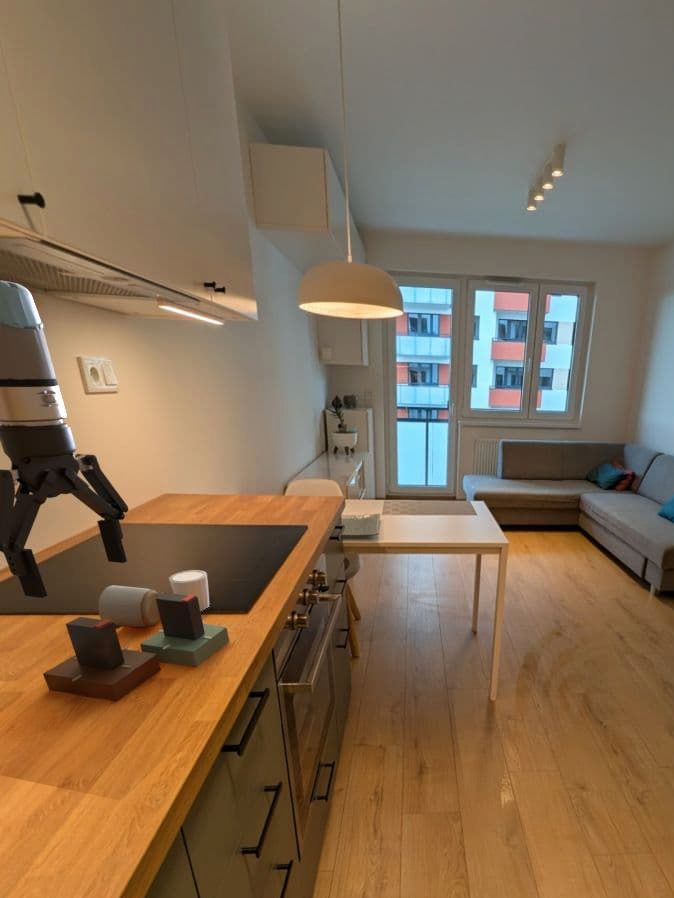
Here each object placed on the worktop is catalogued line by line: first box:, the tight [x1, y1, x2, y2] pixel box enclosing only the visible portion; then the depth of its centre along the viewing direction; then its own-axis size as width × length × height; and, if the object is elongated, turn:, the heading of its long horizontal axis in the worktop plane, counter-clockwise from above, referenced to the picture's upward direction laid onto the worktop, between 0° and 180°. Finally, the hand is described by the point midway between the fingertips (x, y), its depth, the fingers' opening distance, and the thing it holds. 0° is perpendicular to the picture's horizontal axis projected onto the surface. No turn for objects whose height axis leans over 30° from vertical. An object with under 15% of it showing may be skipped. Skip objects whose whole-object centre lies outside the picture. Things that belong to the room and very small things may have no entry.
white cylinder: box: [168, 569, 211, 613], centre depth 102 cm, size 7×7×7 cm
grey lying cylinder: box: [97, 584, 161, 628], centre depth 96 cm, size 11×8×8 cm
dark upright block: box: [156, 592, 205, 640], centre depth 85 cm, size 6×2×7 cm, turn 78°
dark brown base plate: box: [42, 645, 162, 702], centre depth 79 cm, size 12×10×3 cm
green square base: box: [139, 620, 230, 668], centre depth 87 cm, size 10×10×3 cm
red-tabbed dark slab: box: [65, 616, 125, 670], centre depth 77 cm, size 6×2×7 cm, turn 78°
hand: (80, 577), depth 73 cm, fingers open, 13 cm apart
